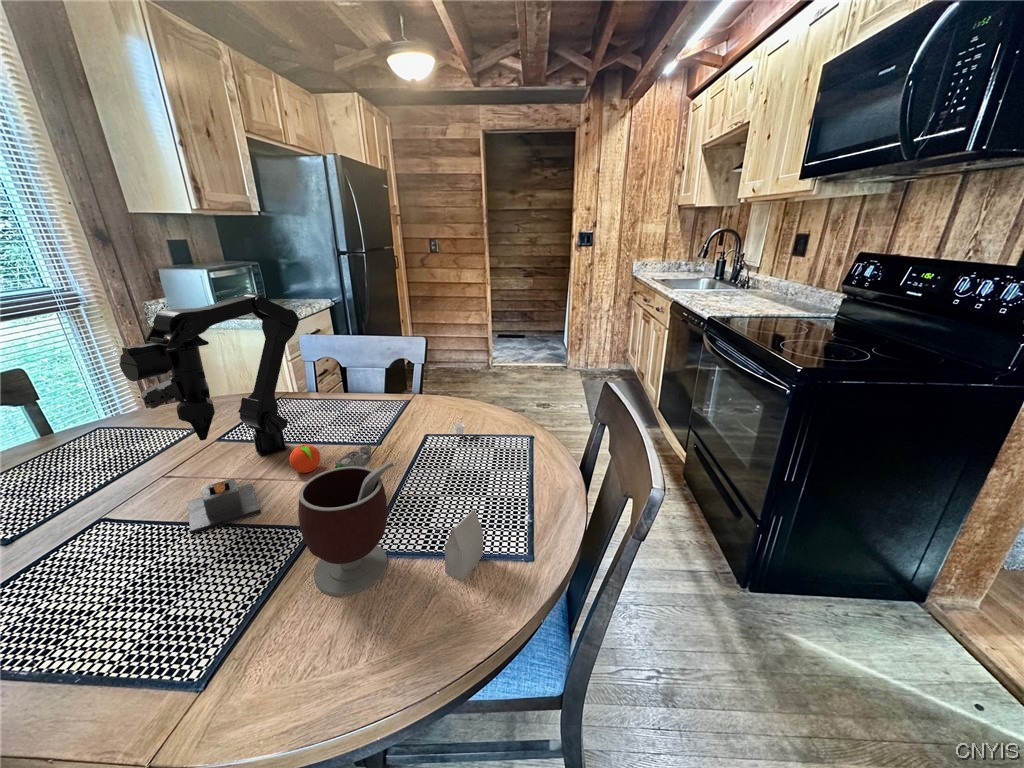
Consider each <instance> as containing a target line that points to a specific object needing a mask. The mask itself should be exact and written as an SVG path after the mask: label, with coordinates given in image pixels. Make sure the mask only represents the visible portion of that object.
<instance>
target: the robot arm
mask: <svg viewBox="0 0 1024 768" xmlns="http://www.w3.org/2000/svg"><path fill="white" fill-rule="evenodd" d="M251 314H252V315H253V316H254V317H256V318H257V319H259V320H261V329H262V333H263V335H264V344H263V348H262V352H261V355H260V361H259V364H258V365H259V366H258V370H257V373H256V377H255V383H254V387H253V391H252V393H250V394H249V396H248V397H245V396H243V397H242V398H241V400H240V407H239V409H238V411H237V413H239V419H240V421H241V422H242V423H243V424H244V425H247V427H248V428H249V429H252V430H254V434H252V437H253V438H252V439H253V443H254V449H255V451H256V453H258V454H259V456H262V457H263V456H265V455H271V454H275V453H278V452H282V451H287V450H288V447H287V445H286V444H285V443H286V442H285V437H284V431H283V430H285V429H287V427H288V422H289V421H288V420H287V419H286V418H284V417H283V416H280V415H279V414H278V412H279V405H278V402H277V399H276V396H275V394H276V390H277V386H278V380H279V376H280V372H281V368H282V363H283V359H284V354H285V350H286V346H287V343H288V342H289V341H290V340H291V339H292V337H294V335H295V334H296V331H297V329H298V326H299V323H300V322H299V321H300V318H299V316H298V315H297V313H296V312H295V310H293V309H290V308H285V307H284V306H283V305H279V304H277V303H275V302H273V301H271V300H269V299H268V298H266V297H264V296H263V295H262V294H253V293H246V294H245V295H242V296H239V297H235V298H232V299H228V300H224V301H220V302H217V303H213V304H212V303H211V304H209V305H206V306H201V307H195V308H194V307H193V308H175V309H164V310H160V311H158V312H156V314H155V317H154V319H153V326H152V327H151V329H150V331H149V333H148V334H147V337H146V339H145V340H144V344H141V345H133V346H131V345H130V346H123V347H122V348H121V350H122V354H121V355H120V358H119V360H120V362H119V363H118V365H119V367H120V370H121V372H122V373H123V375H124V376H125V378H126V379H127V380H129V381H131V382H138V381H142V380H146V379H152V378H154V377H158V376H163V375H167V374H168V373H169V372H170V373H169V379H168V380H166V381H163V382H160V383H158V384H156V385H153V386H151V387H149V388H146V389H145V390H143V391H141V393H140V397H141V398H142V400H143V401H144V404H145V405H147V406H148V407H149V408H150V409H151V410H152V409H157V408H158V407H160V405H163V404H164V403H167V402H170V401H172V400H173V399H174V400H175V402H177V401H178V402H179V403H178V404H177V405H176V413H177V416H178V417H177V418H178V420H180V421H182V422H186V423H189V424H190V425H191V427H192V429H193V430H194V432H195V434H196V435H197V437H198V439H199V441H206V440H207V439H208V435H209V432H210V428H211V425H212V422H213V419H214V416H215V415H216V414H215V413H216V410H215V407H214V402H213V400H212V399H210V397H211V395H210V388H209V384H208V382H207V378H206V374H205V370H204V366H203V365H204V364H203V361H202V357H201V353H200V347H202V346H203V347H204V346H207V345H210V344H209V343H210V342H209V341H208V340H205V339H203V338H202V337H201V336H199V335H202V334H203V333H204V334H205V332H206V331H207V330H208V329H209V328H210V327H212V326H214V325H219V324H221V323H224V322H228V321H231V320H234V319H237V318H241V317H243V316H246V315H251ZM165 337H166V338H165ZM167 337H168V338H167Z"/></svg>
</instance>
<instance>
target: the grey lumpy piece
mask: <svg viewBox="0 0 1024 768" xmlns="http://www.w3.org/2000/svg"><path fill="white" fill-rule="evenodd" d="M371 461H372V447H371V446H370V445H369V444H366V445H362V446H361V447H360V448H359V451H358V450H353V451H349V452H347V453H346V454H345V455H344V456H342V457H340V458H339V459H337V460H336V461H335V466H334V469H335V468H340V467H348V466H358V467H366V466H368V465H369V464H370V463H371Z"/></svg>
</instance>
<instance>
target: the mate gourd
mask: <svg viewBox="0 0 1024 768" xmlns="http://www.w3.org/2000/svg"><path fill="white" fill-rule="evenodd" d="M393 467H395V466H394V462H393V461H390V462H387V463H385V464H383V465H381V466H379V467H377V468H376V469H372V468H369V467H366V466H364V467H358V466H348V467H340V468H335V467H334V468H331V469H329V470H325V471H323V472H320V473H317V474H316V475H315V476H312V477H311V478H310V479H308V480H307V481H306V482H305V483H303V485H302V486H301V488H300V489H299V491H298V492H299V493H298V498H299V499H298V505H297V506H298V510H297V511H298V513H297V514H298V515H297V516H298V523H299V528H300V532H301V533H300V534H301V536H302V538H303V541H304V543H305V545H306V547H307V548H308V551H309V552H310V553H311V554H312V555H313V556H315V557H317V558H318V559H320V560H319V561H318V562H317V563H316V566H315V567H314V569H313V579H314V584H315V586H316V588H317V589H318V590H319V591H320V592H322V593H324V594H326V595H330V596H335V597H343V596H350V595H354V594H357V593H360V592H363V591H365V590H366V589H369V588H370V587H372V586H373V585H375V584H376V583H377V581H379V580H380V579H381V577H383V575H384V573H385V572H386V570H387V567H388V556H387V553H386V551H385V550H384V549H383V548H382V547H381V546H380V545H378V544H379V543H380V541H382V539H383V537H384V536H385V532H386V527H387V524H388V515H389V513H388V512H389V511H388V500H387V499H388V498H387V494H386V488H385V486H384V484H383V478H382V477H381V476H382V475H383V474H384V473H385V472H386V471H387V470H389V469H390V468H393Z"/></svg>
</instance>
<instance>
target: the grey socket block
mask: <svg viewBox="0 0 1024 768" xmlns="http://www.w3.org/2000/svg"><path fill="white" fill-rule="evenodd" d="M220 482H221V483H218V482H216V483H217V484H215V485H214V489H215V493H216V494H217V493H221V492H225V491H226V489H225V485H224V483H222V481H220ZM237 488H238V492H239V497H240V501H241V506H242V507H240V508H237V509H233V510H230V511H227V512H223V513H220V514H217V515H213V516H210V517H207V514H206V510H205V506H204V502H203V496H200V497H198V498H197V497H196V498H194V499H190V500H187V509H188V521H189V522H188V523H189V532H190V533H189V534H190V535H191V534H193V535H196V534H195V533H197V534H199V533H198V532H200V533H202V531H203V532H205V531H209V530H212V529H215V528H218V527H221V526H225V525H228V524H231V523H234V522H237V521H241V520H243V519H247V518H250V517H254V516H257V515H259V514H262V511H261V506H260V504H259V501H258V497H257V494H256V492H255V488H254V486H253V483H252V482H251V483H248V484H244V485H241V486H237Z"/></svg>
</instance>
